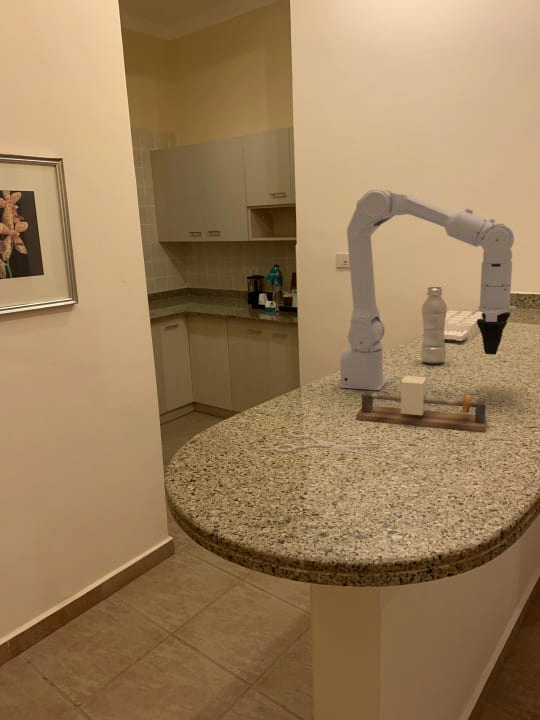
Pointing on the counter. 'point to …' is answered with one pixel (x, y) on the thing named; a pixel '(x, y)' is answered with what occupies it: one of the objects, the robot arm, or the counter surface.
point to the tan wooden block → (413, 395)
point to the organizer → (461, 325)
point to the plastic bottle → (434, 327)
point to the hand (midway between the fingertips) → (492, 349)
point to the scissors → (316, 445)
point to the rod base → (425, 413)
